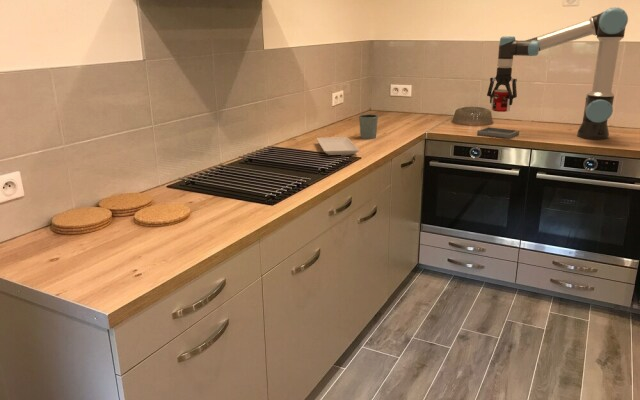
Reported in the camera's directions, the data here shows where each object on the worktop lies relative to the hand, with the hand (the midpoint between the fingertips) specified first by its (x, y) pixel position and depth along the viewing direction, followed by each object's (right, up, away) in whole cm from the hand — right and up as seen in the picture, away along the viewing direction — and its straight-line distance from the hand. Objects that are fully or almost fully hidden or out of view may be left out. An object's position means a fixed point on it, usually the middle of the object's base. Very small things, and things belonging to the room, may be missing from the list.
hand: (500, 110), depth 284 cm
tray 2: (0, -13, +4) cm, 14 cm away
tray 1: (-89, -24, -23) cm, 95 cm away
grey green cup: (-71, -15, +2) cm, 73 cm away
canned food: (0, 0, 0) cm, 0 cm away
